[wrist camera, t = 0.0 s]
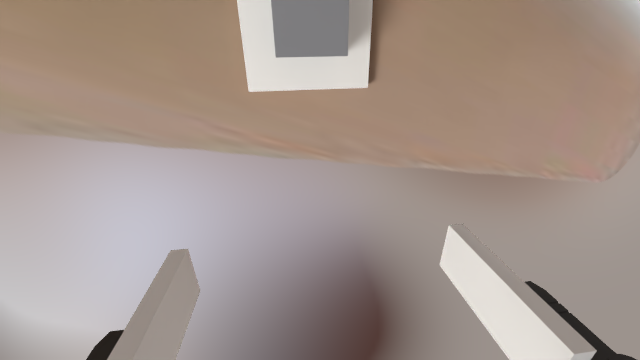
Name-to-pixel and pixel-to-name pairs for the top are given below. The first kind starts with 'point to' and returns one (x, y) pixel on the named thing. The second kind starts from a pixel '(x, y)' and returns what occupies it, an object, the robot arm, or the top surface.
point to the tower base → (303, 67)
